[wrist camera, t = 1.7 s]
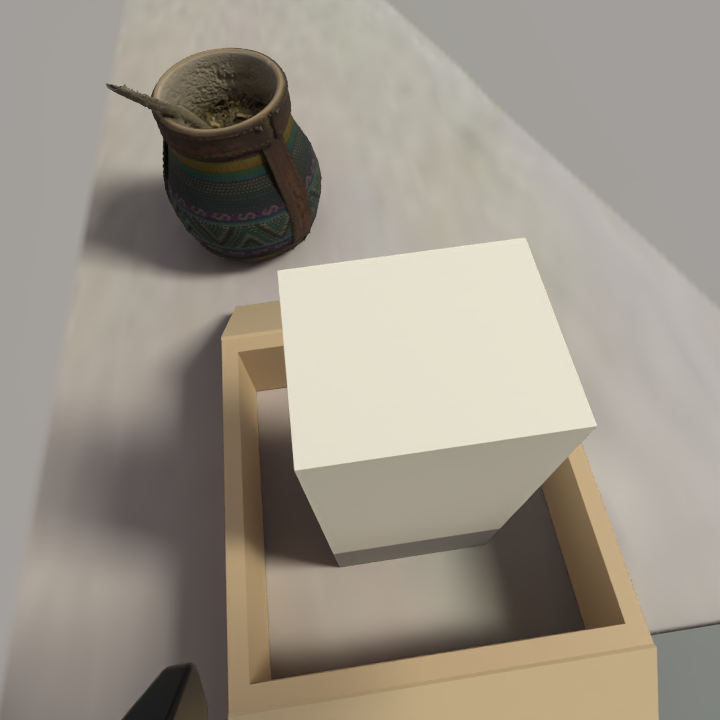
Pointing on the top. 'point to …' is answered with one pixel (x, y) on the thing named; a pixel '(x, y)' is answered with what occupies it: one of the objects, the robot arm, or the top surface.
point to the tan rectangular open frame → (445, 669)
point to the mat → (689, 673)
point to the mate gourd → (234, 153)
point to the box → (425, 396)
